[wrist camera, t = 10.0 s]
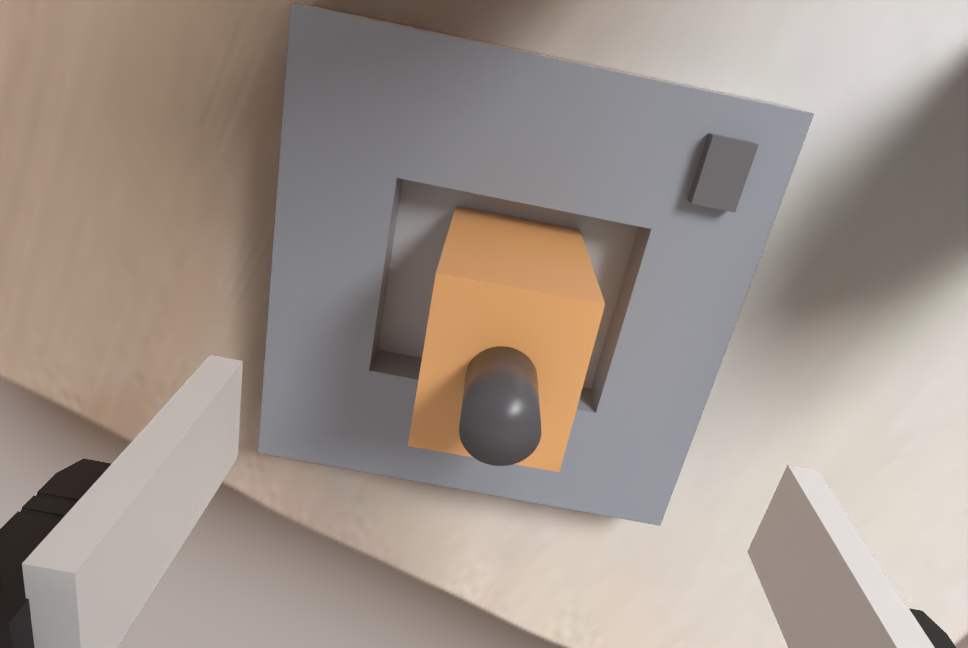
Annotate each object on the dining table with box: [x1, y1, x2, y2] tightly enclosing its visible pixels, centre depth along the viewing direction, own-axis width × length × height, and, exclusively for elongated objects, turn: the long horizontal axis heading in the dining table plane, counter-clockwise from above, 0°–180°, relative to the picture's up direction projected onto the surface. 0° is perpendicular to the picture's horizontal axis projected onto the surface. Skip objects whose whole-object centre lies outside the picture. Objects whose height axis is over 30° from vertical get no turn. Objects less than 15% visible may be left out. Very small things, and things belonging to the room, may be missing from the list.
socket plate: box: [258, 4, 814, 526], centre depth 28 cm, size 18×18×3 cm
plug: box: [408, 207, 605, 472], centre depth 23 cm, size 6×5×11 cm
